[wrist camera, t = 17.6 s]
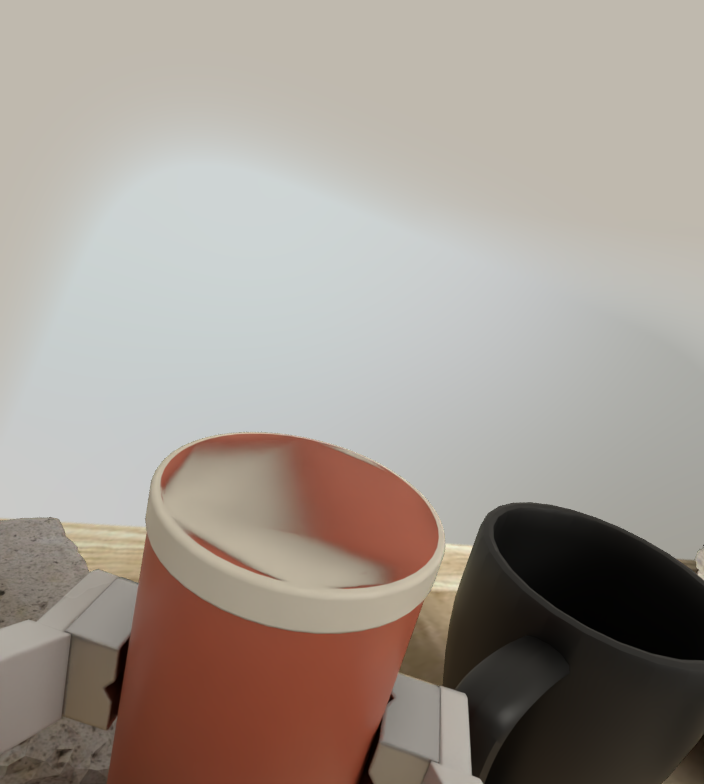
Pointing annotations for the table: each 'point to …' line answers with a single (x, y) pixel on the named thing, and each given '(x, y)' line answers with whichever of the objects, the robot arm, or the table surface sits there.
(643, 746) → the mug
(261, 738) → the canister
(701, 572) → the stone fragment
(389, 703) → the robot arm
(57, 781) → the stone
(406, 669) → the table surface
